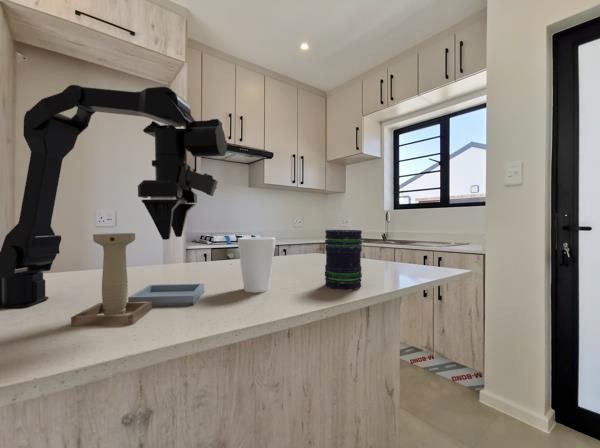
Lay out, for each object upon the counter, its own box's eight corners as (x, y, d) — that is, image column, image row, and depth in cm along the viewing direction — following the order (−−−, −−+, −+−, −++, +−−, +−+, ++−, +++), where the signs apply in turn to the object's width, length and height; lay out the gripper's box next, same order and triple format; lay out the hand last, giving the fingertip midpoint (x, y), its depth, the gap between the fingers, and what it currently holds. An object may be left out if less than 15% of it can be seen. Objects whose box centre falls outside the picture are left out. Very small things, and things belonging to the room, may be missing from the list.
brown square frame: (71, 326, 49) (71, 317, 49) (99, 310, 58) (99, 302, 58) (133, 324, 51) (133, 315, 51) (151, 309, 59) (151, 301, 59)
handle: (97, 315, 55) (96, 233, 55) (136, 311, 58) (136, 233, 57) (90, 323, 51) (89, 234, 51) (133, 319, 53) (133, 234, 53)
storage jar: (368, 289, 77) (368, 231, 77) (331, 290, 75) (331, 231, 75) (353, 281, 87) (353, 229, 87) (320, 282, 85) (320, 229, 85)
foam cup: (278, 286, 80) (278, 237, 80) (271, 294, 71) (272, 239, 71) (243, 285, 81) (243, 237, 81) (232, 293, 72) (232, 239, 72)
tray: (128, 307, 60) (128, 297, 60) (149, 293, 72) (149, 284, 72) (193, 305, 62) (193, 295, 62) (204, 291, 73) (204, 283, 73)
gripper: (206, 147, 51) (208, 240, 51) (219, 166, 69) (220, 235, 69) (135, 145, 49) (137, 241, 49) (168, 166, 67) (169, 235, 67)
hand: (172, 238), depth 59 cm, fingers open, 9 cm apart
